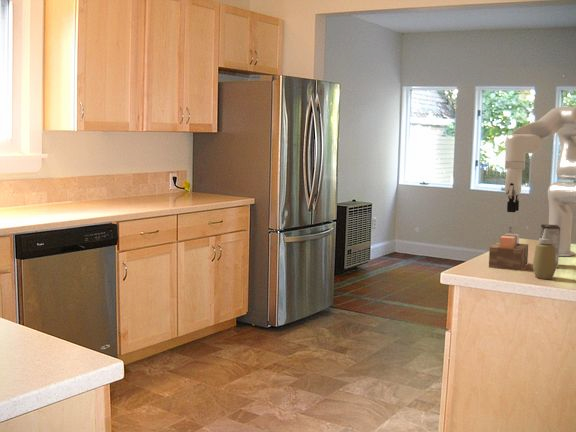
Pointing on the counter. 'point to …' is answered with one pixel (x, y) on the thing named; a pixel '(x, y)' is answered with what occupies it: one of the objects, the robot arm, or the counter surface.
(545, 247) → the squeeze bottle
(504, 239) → the terracotta plug
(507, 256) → the plug console
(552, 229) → the coffee box
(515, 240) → the steel plug
